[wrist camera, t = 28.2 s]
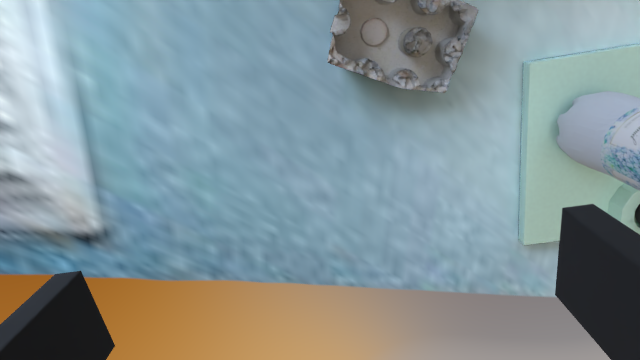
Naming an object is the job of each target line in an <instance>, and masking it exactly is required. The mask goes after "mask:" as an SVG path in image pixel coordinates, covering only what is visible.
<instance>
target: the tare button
mask: <svg viewBox="0 0 640 360" xmlns="http://www.w3.org/2000/svg"><path fill="white" fill-rule="evenodd" d="M635 218H636V220H637V222H638V223H639V224H640V204H639V205H638V207H637V209H636V212H635Z"/></svg>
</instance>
